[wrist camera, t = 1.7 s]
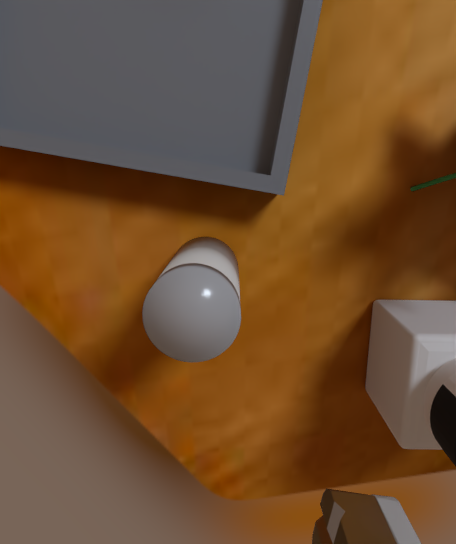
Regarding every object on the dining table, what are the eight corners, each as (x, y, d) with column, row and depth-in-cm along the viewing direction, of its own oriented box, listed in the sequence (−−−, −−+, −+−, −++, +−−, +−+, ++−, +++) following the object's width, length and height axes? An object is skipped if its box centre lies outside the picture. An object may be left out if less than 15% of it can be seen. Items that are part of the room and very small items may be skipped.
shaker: (243, 242, 29) (249, 277, 19) (232, 305, 30) (231, 369, 20) (177, 231, 29) (149, 260, 19) (168, 295, 30) (136, 353, 20)
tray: (332, -83, 25) (345, -117, 22) (278, 193, 28) (283, 195, 25) (-12, -149, 24) (-46, -194, 21) (-22, 140, 28) (-52, 136, 25)
